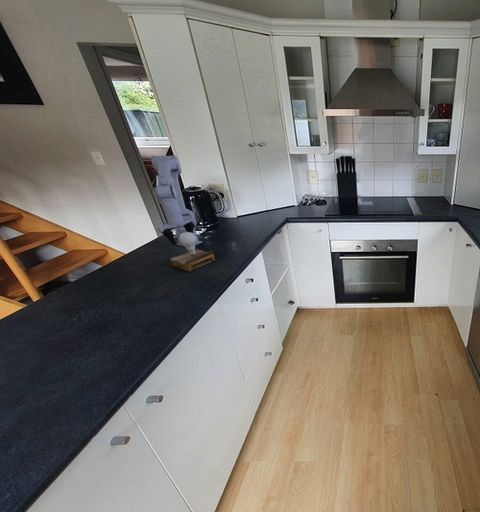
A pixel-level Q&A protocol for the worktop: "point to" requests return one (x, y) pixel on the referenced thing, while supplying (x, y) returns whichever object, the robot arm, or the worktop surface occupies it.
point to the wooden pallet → (193, 260)
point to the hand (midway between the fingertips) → (182, 241)
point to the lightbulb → (188, 242)
